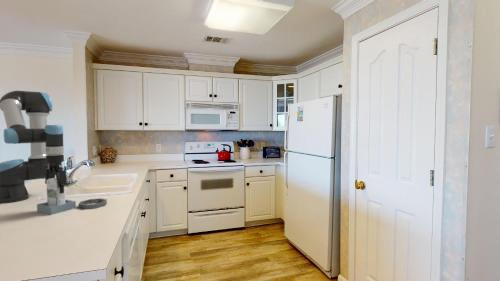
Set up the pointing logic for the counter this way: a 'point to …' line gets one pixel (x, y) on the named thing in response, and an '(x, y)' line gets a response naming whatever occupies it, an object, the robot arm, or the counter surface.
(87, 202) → the collar
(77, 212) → the counter surface
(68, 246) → the counter surface
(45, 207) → the tray
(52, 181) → the syrup box
